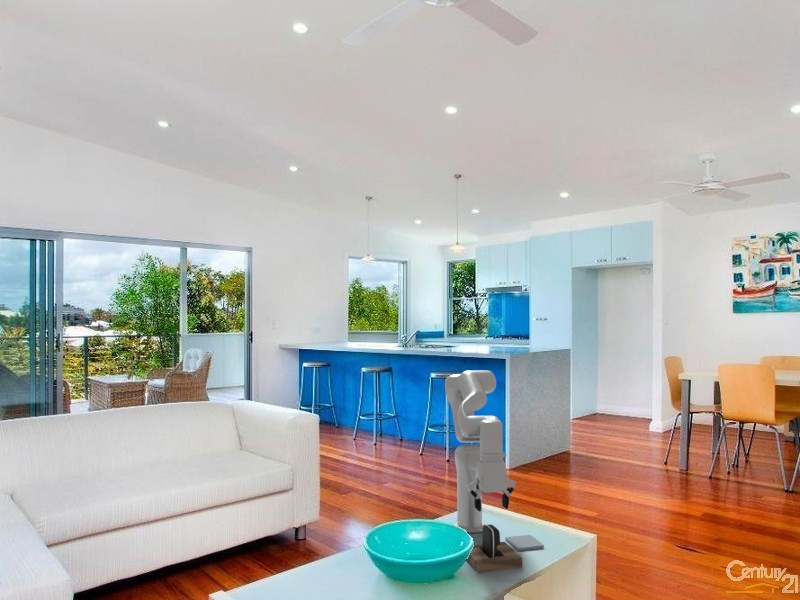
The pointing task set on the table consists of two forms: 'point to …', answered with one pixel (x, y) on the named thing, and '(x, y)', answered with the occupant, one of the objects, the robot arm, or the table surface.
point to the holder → (494, 558)
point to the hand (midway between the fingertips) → (491, 508)
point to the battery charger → (490, 540)
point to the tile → (524, 542)
